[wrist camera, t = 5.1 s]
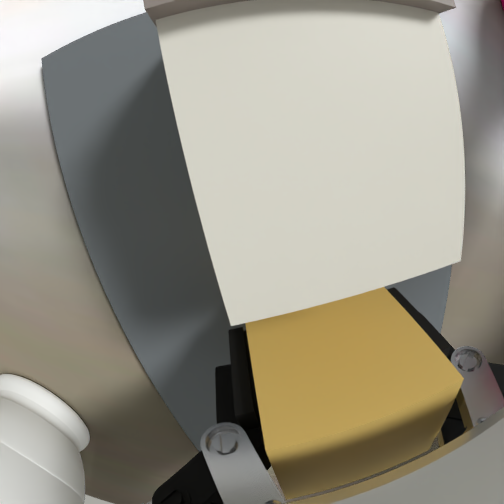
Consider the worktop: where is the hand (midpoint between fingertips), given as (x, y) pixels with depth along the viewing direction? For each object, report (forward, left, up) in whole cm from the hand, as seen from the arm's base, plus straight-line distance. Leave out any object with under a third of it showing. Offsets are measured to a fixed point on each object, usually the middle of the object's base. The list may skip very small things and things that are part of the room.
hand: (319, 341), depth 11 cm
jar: (+19, +5, -2) cm, 20 cm away
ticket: (0, -8, -2) cm, 8 cm away
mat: (0, -1, -2) cm, 3 cm away
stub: (0, 0, -2) cm, 2 cm away
